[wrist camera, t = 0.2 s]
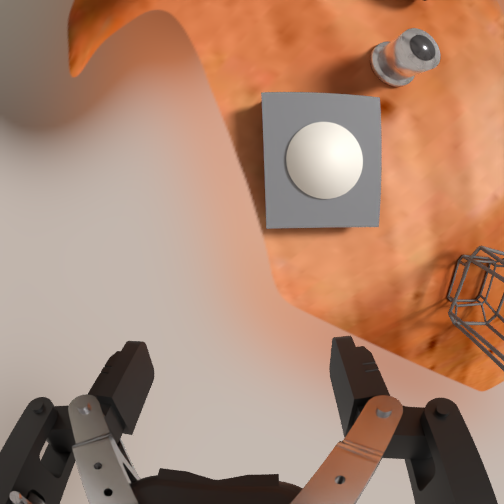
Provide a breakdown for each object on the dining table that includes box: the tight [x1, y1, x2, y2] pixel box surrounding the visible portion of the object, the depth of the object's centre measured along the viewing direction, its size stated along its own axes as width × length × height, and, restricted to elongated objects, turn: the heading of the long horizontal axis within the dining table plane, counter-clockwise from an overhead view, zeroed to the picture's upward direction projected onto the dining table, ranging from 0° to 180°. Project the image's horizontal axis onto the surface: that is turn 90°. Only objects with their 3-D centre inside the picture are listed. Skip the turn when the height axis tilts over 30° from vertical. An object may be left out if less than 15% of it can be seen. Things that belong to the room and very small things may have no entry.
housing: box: [370, 28, 440, 87], centre depth 27 cm, size 7×7×10 cm
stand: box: [261, 92, 381, 229], centre depth 35 cm, size 16×14×4 cm
